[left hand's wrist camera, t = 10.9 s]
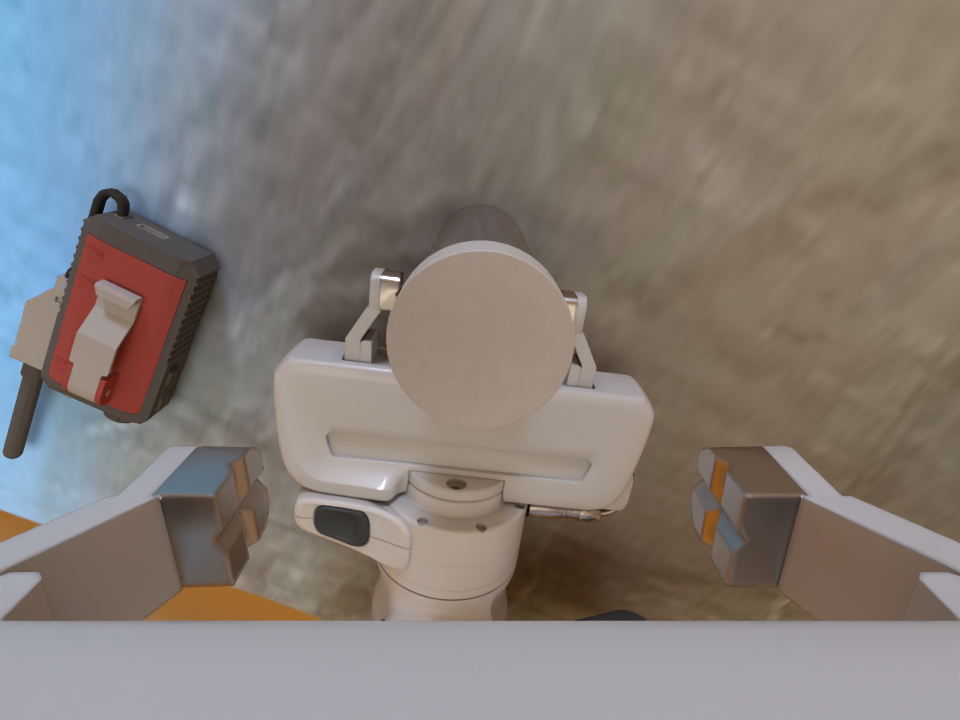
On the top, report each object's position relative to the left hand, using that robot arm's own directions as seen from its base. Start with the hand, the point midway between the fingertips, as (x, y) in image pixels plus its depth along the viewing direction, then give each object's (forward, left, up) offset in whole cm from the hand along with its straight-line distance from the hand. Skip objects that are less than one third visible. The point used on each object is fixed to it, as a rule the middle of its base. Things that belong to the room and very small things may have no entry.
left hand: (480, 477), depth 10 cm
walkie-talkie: (-19, -15, -24) cm, 34 cm away
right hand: (0, -1, -19) cm, 19 cm away
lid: (0, 0, -8) cm, 8 cm away
